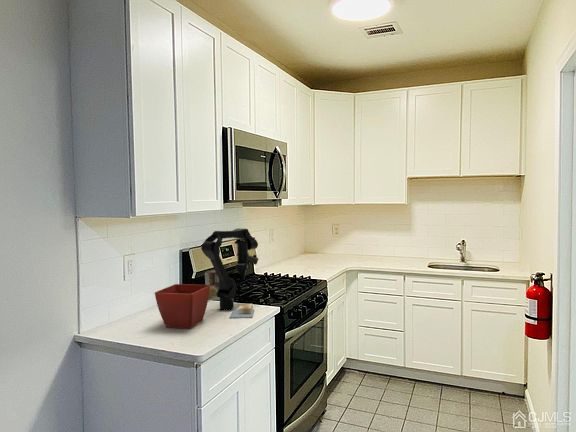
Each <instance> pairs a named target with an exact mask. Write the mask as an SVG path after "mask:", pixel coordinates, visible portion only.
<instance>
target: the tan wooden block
mask: <svg viewBox="0 0 576 432" xmlns="http://www.w3.org/2000/svg"><path fill="white" fill-rule="evenodd" d="M238 310H239V314H251V312H252V310H254V309H253V303H240V305H239V307H238Z"/></svg>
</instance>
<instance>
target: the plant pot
mask: <svg viewBox="0 0 576 432" xmlns="http://www.w3.org/2000/svg"><path fill="white" fill-rule="evenodd" d="M209 292H210V285H205V284H191V283H190V284H188V283H186V284H185V283H180V284H179V283H175V284H172V285H170V286H167V287H165V288H163V289H160V290H157V291H155V292H154V297H155V302H156V305H157V308H158V312H159V314H160V317H161V319H162V321H163V324H164V326H165V328H175V329H176V328H177V329H192V328H194V327H196V326H197V325H198V324H200V323H201V322H203V320H204V317H205V314H206V311H207V305H208V302H209V300H208V298H209Z"/></svg>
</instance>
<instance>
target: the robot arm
mask: <svg viewBox="0 0 576 432" xmlns="http://www.w3.org/2000/svg"><path fill="white" fill-rule="evenodd" d="M233 238H234V239H236V240H235V241H234V244H235V245H236V249H237V250H236V251H237V252H236V256H237V261H236V262H237V263H235V266H234V268H235V270H237V271H238V273H239V275H240V277H241V279H242V280H245V278H246V273H247V269H248V268H249V267H250V266H249V265H250V264H253V265H255V266H256V265H257V264H258V261H259V258H258V256H257V254H253V255H250V253H249V251H250V250H255V249H257V248H258V246H259V244H258V243H259V242H258V241H257V240H256V237H254V236H252V235H251V233H250V231H249V229H248V228H241V227H240V228H235V229H232V230H214V231H213V232H212V234H211V235H209V236H208V237H207V238H206V239H205V240H204V241H203V243H202V244H201V246H200V249H201V251H202V252H203V254H204V256H205V257H207V258H208V259H209V260H210V262H211V265H212V267H213V270H214V271H216V274H217V276H218V278H219V280H220V283H219V287H220V288H219V290H218V292H217V293H216V295H217V297H220V300H219V311H220V312H221V311H233V310H234V308H235V307H234V306H235V303H234V302H235V301H234V298H236V293H237V283H236V280H235V278H233V277H232V278H231V277H229V274H228V273H227V270H226V268H225V266H224V262H223V261H222V258H221V257H220V253H221V249H220V248H221V247H222V244H223V239H233Z"/></svg>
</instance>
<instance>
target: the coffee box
mask: <svg viewBox="0 0 576 432" xmlns="http://www.w3.org/2000/svg"><path fill="white" fill-rule="evenodd" d="M204 281H205V284H204V285H210V292H209V298H208V301H220V297H217V295H216V293H217V292H218V290H219V288H220V287H219V283H220V280H219V278H218V276H217V274H216V271H215V270H207V271H205V272H204Z"/></svg>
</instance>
